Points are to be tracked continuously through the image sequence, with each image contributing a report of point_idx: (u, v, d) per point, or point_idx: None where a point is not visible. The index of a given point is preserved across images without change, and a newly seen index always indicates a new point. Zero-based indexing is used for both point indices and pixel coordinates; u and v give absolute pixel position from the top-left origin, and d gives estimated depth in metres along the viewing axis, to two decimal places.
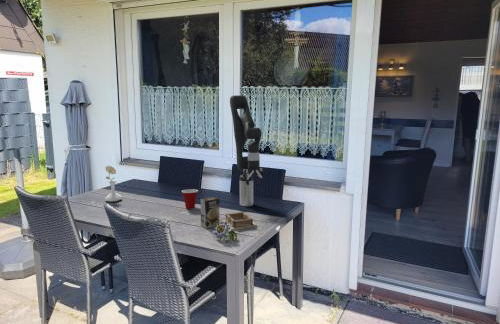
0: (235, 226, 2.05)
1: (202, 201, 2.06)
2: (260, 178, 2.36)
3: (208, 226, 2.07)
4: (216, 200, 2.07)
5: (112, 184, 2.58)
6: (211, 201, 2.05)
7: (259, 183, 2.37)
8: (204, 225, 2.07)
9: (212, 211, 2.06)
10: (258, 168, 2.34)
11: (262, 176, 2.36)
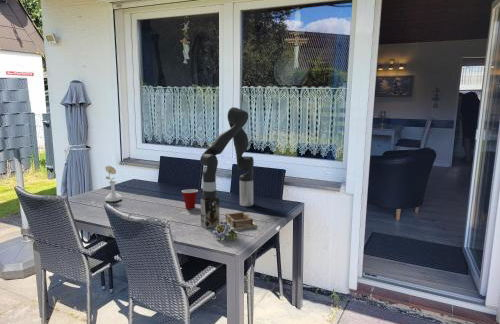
0: (235, 226, 2.05)
1: (202, 201, 2.06)
2: None
3: (208, 226, 2.07)
4: (216, 200, 2.07)
5: (112, 184, 2.58)
6: None
7: None
8: (204, 225, 2.07)
9: None
10: None
11: None
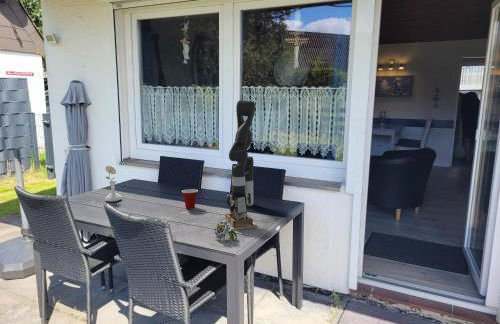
0: (235, 226, 2.05)
1: (241, 199, 2.06)
2: None
3: None
4: None
5: (112, 184, 2.58)
6: None
7: (232, 211, 2.10)
8: None
9: None
10: None
11: None
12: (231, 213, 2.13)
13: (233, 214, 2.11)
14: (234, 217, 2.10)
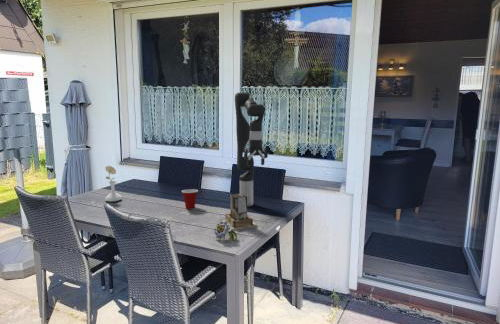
0: (235, 226, 2.05)
1: (241, 199, 2.06)
2: None
3: None
4: None
5: (112, 184, 2.58)
6: None
7: (249, 165, 2.18)
8: None
9: None
10: None
11: None
12: (231, 213, 2.13)
13: (233, 214, 2.11)
14: (234, 217, 2.10)
